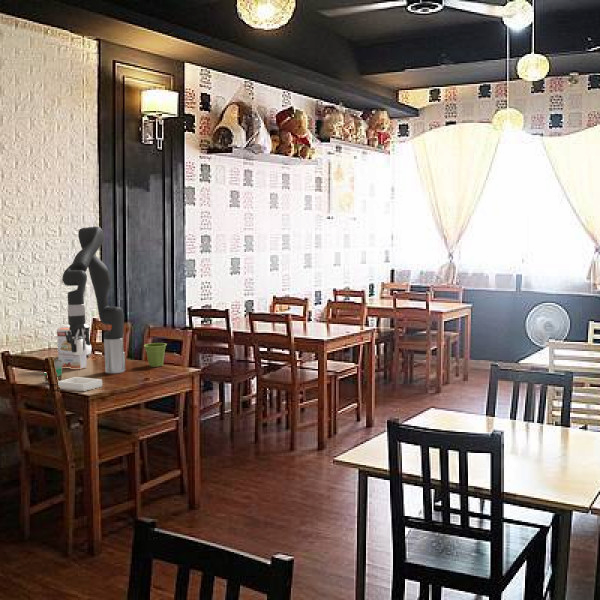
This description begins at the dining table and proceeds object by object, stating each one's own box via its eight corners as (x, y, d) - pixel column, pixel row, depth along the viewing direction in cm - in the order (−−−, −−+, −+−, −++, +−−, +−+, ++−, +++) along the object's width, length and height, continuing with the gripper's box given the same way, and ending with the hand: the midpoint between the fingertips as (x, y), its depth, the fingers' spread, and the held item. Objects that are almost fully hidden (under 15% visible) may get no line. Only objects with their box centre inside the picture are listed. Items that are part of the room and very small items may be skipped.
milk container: (54, 359, 433) (52, 327, 432) (69, 354, 450) (68, 323, 449) (82, 360, 430) (80, 327, 428) (97, 355, 446) (95, 323, 445)
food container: (56, 385, 363) (55, 363, 362) (44, 384, 364) (42, 363, 363) (68, 379, 375) (68, 359, 374) (57, 379, 376) (56, 359, 375)
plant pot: (141, 365, 411) (140, 344, 409) (163, 363, 416) (162, 342, 415) (148, 368, 400) (148, 347, 399) (170, 366, 406) (169, 345, 405)
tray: (75, 384, 364) (75, 376, 364) (102, 386, 357) (102, 379, 357) (57, 389, 353) (56, 381, 353) (84, 392, 346) (83, 384, 346)
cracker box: (58, 368, 405) (56, 328, 403) (65, 366, 411) (63, 327, 409) (80, 370, 400) (78, 329, 398) (87, 367, 406) (85, 328, 404)
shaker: (78, 353, 357) (77, 335, 356) (85, 353, 355) (84, 336, 354) (71, 354, 353) (70, 337, 352) (78, 355, 351) (77, 337, 350)
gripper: (81, 312, 360) (82, 348, 362) (58, 315, 347) (60, 353, 349) (93, 312, 357) (95, 349, 358) (71, 316, 344) (73, 354, 346)
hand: (78, 351), depth 354 cm, fingers closed on shaker, 4 cm apart
